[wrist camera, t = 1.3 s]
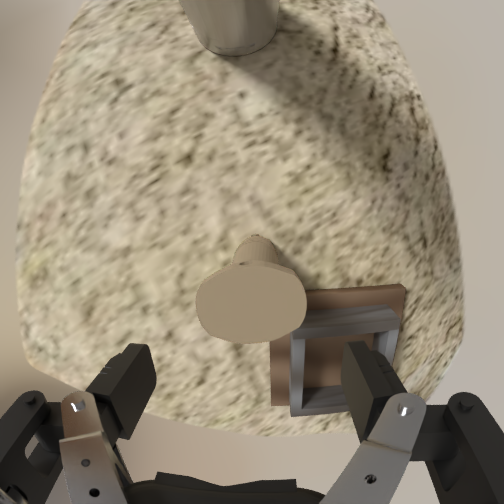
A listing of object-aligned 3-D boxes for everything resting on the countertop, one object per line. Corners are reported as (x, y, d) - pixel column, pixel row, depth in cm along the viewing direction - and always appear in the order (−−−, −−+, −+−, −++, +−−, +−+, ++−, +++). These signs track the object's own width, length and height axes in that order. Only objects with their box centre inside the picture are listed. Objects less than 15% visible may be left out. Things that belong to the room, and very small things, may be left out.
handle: (224, 229, 31) (188, 273, 16) (284, 222, 30) (303, 260, 16) (230, 273, 32) (204, 346, 17) (289, 266, 31) (308, 337, 17)
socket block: (268, 292, 32) (268, 313, 27) (400, 283, 31) (421, 301, 26) (271, 398, 36) (271, 427, 31) (382, 387, 35) (394, 411, 30)
